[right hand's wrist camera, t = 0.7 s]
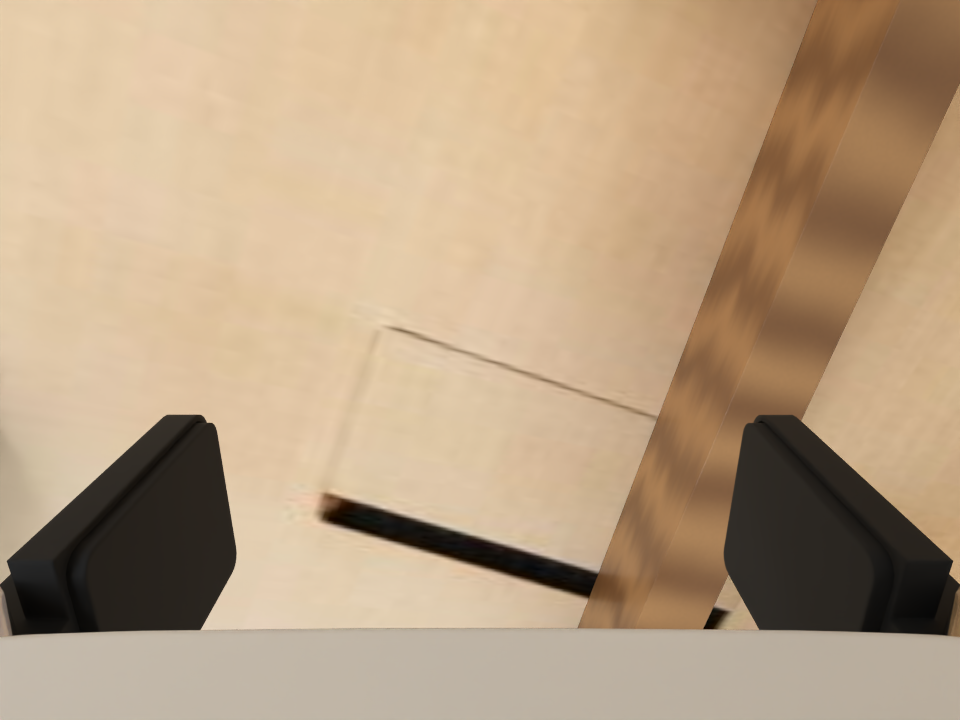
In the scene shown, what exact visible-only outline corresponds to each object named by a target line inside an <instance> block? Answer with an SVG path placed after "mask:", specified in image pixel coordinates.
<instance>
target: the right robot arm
mask: <svg viewBox="0 0 960 720" xmlns="http://www.w3.org/2000/svg"><path fill="white" fill-rule="evenodd" d="M7 563H8V566H9V569H10V572H11V575H10V576H9V577H7V578H6V579H5V580H4V581H3V582H2V583H1V584H0V720H960V584H959V583H958V582H957V581H956V580H955V579H954V578H953V577H951V576H950V575H949V572H950V569H951V566H952V563H953V560H951V559H950V558H949V557H948V556H947V555H946V554H945V553H944V552H943V551H942V550H941V549H940V548H938V547H937V546H936V545H935V544H934V543H933V542H932V541H931V540H930V539H929V538H928V537H926V536H925V535H924V534H923V533H922V532H921V531H920V530H919V529H918V528H917V527H916V526H914V525H913V524H912V523H911V522H910V521H909V520H908V519H907V518H906V517H905V516H904V515H903V514H901V513H900V512H899V511H898V510H897V509H896V508H895V507H894V506H893V505H892V504H891V503H889V502H888V501H887V500H886V499H885V498H884V497H883V496H882V495H881V494H880V493H879V492H877V491H876V490H875V489H874V488H873V487H872V486H871V485H870V484H869V483H868V482H867V481H866V480H864V479H863V478H862V477H861V476H860V475H859V474H858V473H857V472H856V471H855V470H854V469H852V468H851V467H850V466H849V465H848V464H847V463H846V462H845V461H844V460H843V459H842V458H840V457H839V456H838V455H837V454H836V453H835V452H834V451H833V450H832V449H831V448H830V447H829V446H827V445H826V444H825V443H824V442H823V441H822V440H821V439H820V438H819V437H818V436H817V435H815V434H814V433H813V432H812V431H811V430H810V429H809V428H808V427H807V426H806V425H805V424H803V423H802V422H801V421H800V420H799V419H798V418H797V417H796V416H794V415H758V416H757V417H756V418H755V420H754V422H753V423H747V424H746V425H745V427H744V430H743V435H742V441H741V447H740V453H739V459H738V465H737V472H736V478H735V484H734V490H733V496H732V502H731V508H730V514H729V520H728V527H727V533H726V539H725V545H724V563H725V567H726V570H727V572H728V574H729V576H730V578H731V579H732V581H733V583H734V585H735V587H736V588H737V590H738V592H739V594H740V596H741V597H742V599H743V601H744V603H745V605H746V606H747V608H748V610H749V612H750V614H751V615H752V617H753V619H754V621H755V623H756V624H757V626H758V628H759V630H696V629H585V628H350V629H261V630H201V628H202V626H203V624H204V623H205V621H206V619H207V617H208V615H209V614H210V612H211V610H212V608H213V606H214V605H215V603H216V601H217V599H218V597H219V596H220V594H221V592H222V590H223V588H224V587H225V585H226V583H227V581H228V579H229V578H230V576H231V574H232V572H233V570H234V567H235V563H236V545H235V539H234V533H233V527H232V520H231V514H230V508H229V502H228V496H227V490H226V484H225V478H224V472H223V465H222V459H221V453H220V447H219V441H218V435H217V430H216V427H215V425H214V424H213V423H207V422H206V420H205V418H204V417H203V416H202V415H166V416H164V417H163V418H162V419H161V420H160V421H159V422H158V423H157V424H155V425H154V426H153V427H152V428H151V429H150V430H149V431H148V432H147V433H146V434H145V435H143V436H142V437H141V438H140V439H139V440H138V441H137V442H136V443H135V444H134V445H133V446H131V447H130V448H129V449H128V450H127V451H126V452H125V453H124V454H123V455H122V456H121V457H120V458H118V459H117V460H116V461H115V462H114V463H113V464H112V465H111V466H110V467H109V468H108V469H106V470H105V471H104V472H103V473H102V474H101V475H100V476H99V477H98V478H97V479H96V480H94V481H93V482H92V483H91V484H90V485H89V486H88V487H87V488H86V489H85V490H84V491H83V492H81V493H80V494H79V495H78V496H77V497H76V498H75V499H74V500H73V501H72V502H71V503H69V504H68V505H67V506H66V507H65V508H64V509H63V510H62V511H61V512H60V513H59V514H57V515H56V516H55V517H54V518H53V519H52V520H51V521H50V522H49V523H48V524H47V525H46V526H44V527H43V528H42V529H41V530H40V531H39V532H38V533H37V534H36V535H35V536H34V537H32V538H31V539H30V540H29V541H28V542H27V543H26V544H25V545H24V546H23V547H22V548H20V549H19V550H18V551H17V552H16V553H15V554H14V555H13V556H12V557H11V558H10V559H9V560H7Z"/></svg>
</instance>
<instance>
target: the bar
mask: <svg viewBox="0 0 960 720" xmlns="http://www.w3.org/2000/svg"><path fill="white" fill-rule="evenodd" d="M959 84H960V0H818V2H817V4H816V7H815V9H814V12H813V15H812V17H811V20H810V23H809V25H808V28H807V30H806V33H805V36H804V38H803V41H802V43H801V46H800V49H799V51H798V54H797V56H796V59H795V62H794V64H793V67H792V70H791V72H790V75H789V77H788V80H787V83H786V85H785V88H784V90H783V93H782V96H781V98H780V101H779V104H778V106H777V109H776V111H775V114H774V117H773V119H772V122H771V124H770V127H769V130H768V132H767V135H766V137H765V140H764V143H763V145H762V148H761V151H760V153H759V156H758V158H757V161H756V164H755V166H754V169H753V171H752V174H751V177H750V179H749V182H748V185H747V187H746V190H745V192H744V195H743V198H742V200H741V203H740V205H739V208H738V211H737V213H736V216H735V218H734V221H733V224H732V226H731V229H730V232H729V234H728V237H727V239H726V242H725V245H724V247H723V250H722V252H721V255H720V258H719V260H718V263H717V266H716V268H715V271H714V273H713V276H712V279H711V281H710V284H709V286H708V289H707V292H706V294H705V297H704V299H703V302H702V305H701V307H700V310H699V313H698V315H697V318H696V320H695V323H694V326H693V328H692V331H691V333H690V336H689V339H688V341H687V344H686V347H685V349H684V352H683V354H682V357H681V360H680V362H679V365H678V367H677V370H676V373H675V375H674V378H673V380H672V383H671V386H670V388H669V391H668V394H667V396H666V399H665V401H664V404H663V407H662V409H661V412H660V414H659V417H658V420H657V422H656V425H655V428H654V430H653V433H652V435H651V438H650V441H649V443H648V446H647V448H646V451H645V454H644V456H643V459H642V461H641V464H640V467H639V469H638V472H637V475H636V477H635V480H634V482H633V485H632V488H631V490H630V493H629V495H628V498H627V501H626V503H625V506H624V509H623V511H622V514H621V516H620V519H619V522H618V524H617V527H616V529H615V532H614V535H613V537H612V540H611V542H610V545H609V548H608V550H607V553H606V556H605V558H604V561H603V563H602V566H601V569H600V571H599V574H598V576H597V579H596V582H595V584H594V587H593V590H592V592H591V595H590V597H589V600H588V603H587V605H586V608H585V610H584V613H583V616H582V618H581V621H580V623H579V626H578V628H585V629H696V630H703V628H704V626H705V624H706V621H707V619H708V617H709V615H710V613H711V611H712V609H713V607H714V604H715V602H716V600H717V598H718V596H719V594H720V592H721V590H722V587H723V585H724V583H725V581H726V579H727V577H728V575H729V574H728V572H727V570H726V567H725V563H724V545H725V539H726V533H727V527H728V520H729V514H730V508H731V502H732V496H733V490H734V484H735V478H736V472H737V465H738V459H739V453H740V447H741V441H742V435H743V430H744V427H745V425H746V424H747V423H753V422H754V420H755V418H756V417H757V416H758V415H794V416H796V417H797V418H798V419H799V420H800V421H801V420H802V417H803V415H804V413H805V411H806V409H807V407H808V405H809V403H810V400H811V398H812V396H813V394H814V392H815V390H816V388H817V386H818V383H819V381H820V379H821V377H822V375H823V373H824V371H825V369H826V366H827V364H828V362H829V360H830V358H831V356H832V354H833V352H834V349H835V347H836V345H837V343H838V341H839V339H840V337H841V335H842V332H843V330H844V328H845V326H846V324H847V322H848V320H849V318H850V315H851V313H852V311H853V309H854V307H855V305H856V303H857V301H858V298H859V296H860V294H861V292H862V290H863V288H864V286H865V284H866V282H867V279H868V277H869V275H870V273H871V271H872V269H873V267H874V265H875V262H876V260H877V258H878V256H879V254H880V252H881V250H882V248H883V245H884V243H885V241H886V239H887V237H888V235H889V233H890V231H891V228H892V226H893V224H894V222H895V220H896V218H897V216H898V214H899V211H900V209H901V207H902V205H903V203H904V201H905V199H906V197H907V194H908V192H909V190H910V188H911V186H912V184H913V182H914V180H915V177H916V175H917V173H918V171H919V169H920V167H921V165H922V163H923V160H924V158H925V156H926V154H927V152H928V150H929V148H930V146H931V143H932V141H933V139H934V137H935V135H936V133H937V131H938V129H939V126H940V124H941V122H942V120H943V118H944V116H945V114H946V112H947V109H948V107H949V105H950V103H951V101H952V99H953V97H954V95H955V92H956V90H957V88H958V86H959Z"/></svg>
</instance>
